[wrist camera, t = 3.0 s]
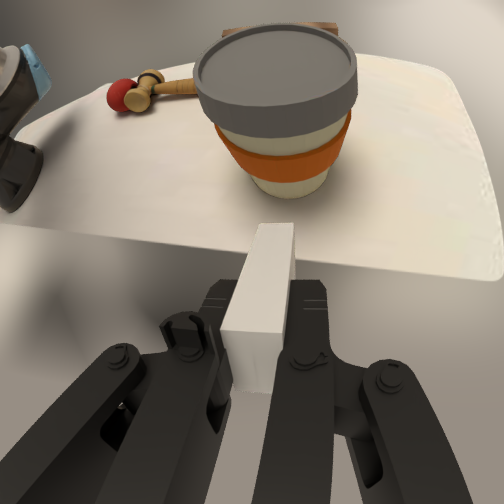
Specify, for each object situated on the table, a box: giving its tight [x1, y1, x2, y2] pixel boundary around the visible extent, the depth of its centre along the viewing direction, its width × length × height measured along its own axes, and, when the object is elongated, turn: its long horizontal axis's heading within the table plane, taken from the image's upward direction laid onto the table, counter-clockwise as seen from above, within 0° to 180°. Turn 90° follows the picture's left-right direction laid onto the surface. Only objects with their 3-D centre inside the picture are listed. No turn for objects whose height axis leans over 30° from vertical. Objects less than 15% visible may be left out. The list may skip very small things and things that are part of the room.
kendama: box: [107, 69, 197, 112], centre depth 36 cm, size 8×6×18 cm
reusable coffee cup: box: [193, 23, 358, 199], centre depth 23 cm, size 13×13×15 cm
